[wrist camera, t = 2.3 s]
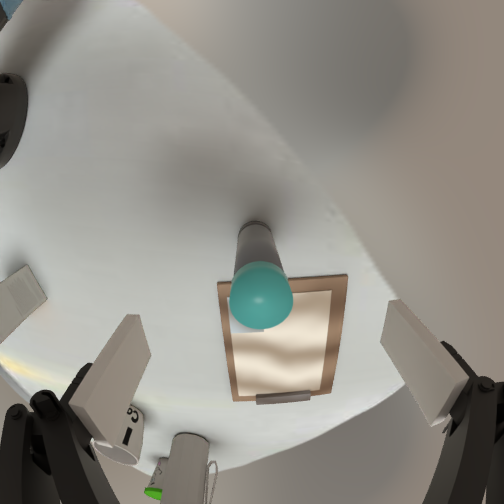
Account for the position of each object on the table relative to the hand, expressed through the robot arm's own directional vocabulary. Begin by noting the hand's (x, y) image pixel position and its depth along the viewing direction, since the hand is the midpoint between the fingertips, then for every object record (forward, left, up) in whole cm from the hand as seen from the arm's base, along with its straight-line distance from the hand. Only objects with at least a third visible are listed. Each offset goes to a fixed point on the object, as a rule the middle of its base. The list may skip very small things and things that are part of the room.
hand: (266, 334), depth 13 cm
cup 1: (+31, -24, -17) cm, 43 cm away
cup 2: (+51, -22, -17) cm, 58 cm away
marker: (0, 0, -17) cm, 17 cm away
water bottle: (+39, -13, -17) cm, 44 cm away
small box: (+6, -36, -17) cm, 40 cm away
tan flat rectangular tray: (+15, +3, -17) cm, 23 cm away
